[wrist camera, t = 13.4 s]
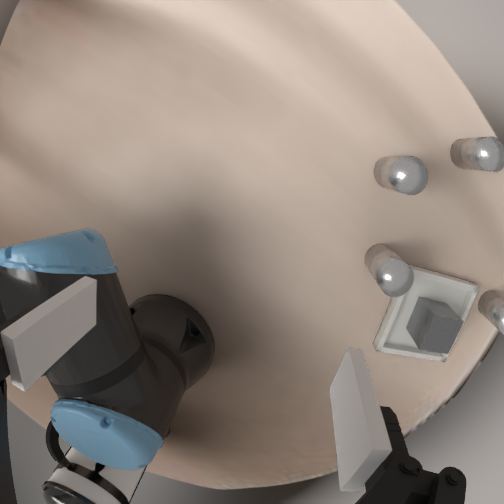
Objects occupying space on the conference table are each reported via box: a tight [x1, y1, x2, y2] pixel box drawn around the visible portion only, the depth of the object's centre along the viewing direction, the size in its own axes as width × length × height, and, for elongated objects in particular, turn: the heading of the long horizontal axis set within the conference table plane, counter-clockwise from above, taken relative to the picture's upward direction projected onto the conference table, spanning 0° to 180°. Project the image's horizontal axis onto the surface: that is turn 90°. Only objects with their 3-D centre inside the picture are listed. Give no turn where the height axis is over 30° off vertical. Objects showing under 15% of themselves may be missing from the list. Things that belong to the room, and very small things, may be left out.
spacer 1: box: [374, 156, 428, 195], centre depth 33 cm, size 4×4×8 cm
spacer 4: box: [478, 290, 504, 335], centre depth 36 cm, size 4×4×8 cm
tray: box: [373, 264, 479, 362], centre depth 40 cm, size 13×13×2 cm
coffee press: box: [42, 421, 170, 504], centre depth 38 cm, size 17×16×30 cm
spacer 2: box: [365, 244, 414, 297], centre depth 36 cm, size 4×4×8 cm
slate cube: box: [406, 297, 464, 354], centre depth 38 cm, size 5×5×6 cm
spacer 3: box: [450, 137, 504, 172], centre depth 31 cm, size 4×4×8 cm
